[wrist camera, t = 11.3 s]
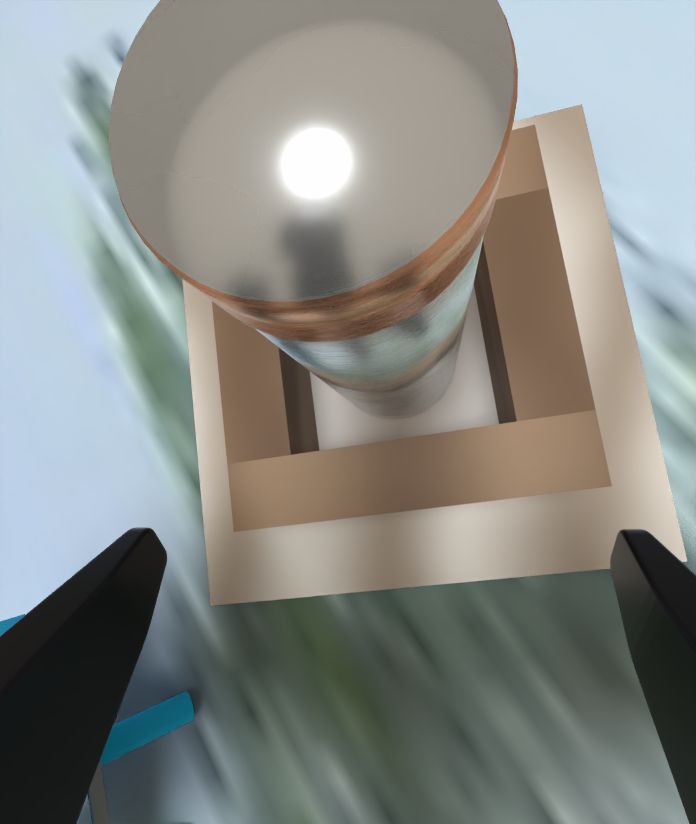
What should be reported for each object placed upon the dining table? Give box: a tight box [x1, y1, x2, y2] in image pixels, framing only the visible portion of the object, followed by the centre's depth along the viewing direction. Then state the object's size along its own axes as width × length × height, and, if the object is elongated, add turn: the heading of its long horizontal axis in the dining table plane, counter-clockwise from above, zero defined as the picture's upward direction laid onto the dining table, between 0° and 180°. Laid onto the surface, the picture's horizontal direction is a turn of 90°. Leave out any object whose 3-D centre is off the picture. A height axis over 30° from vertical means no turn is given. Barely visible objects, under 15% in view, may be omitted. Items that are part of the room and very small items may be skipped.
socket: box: [183, 104, 687, 606], centre depth 16 cm, size 16×16×4 cm
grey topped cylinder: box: [109, 0, 518, 420], centre depth 11 cm, size 4×4×12 cm
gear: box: [0, 614, 194, 824], centre depth 16 cm, size 11×6×10 cm
